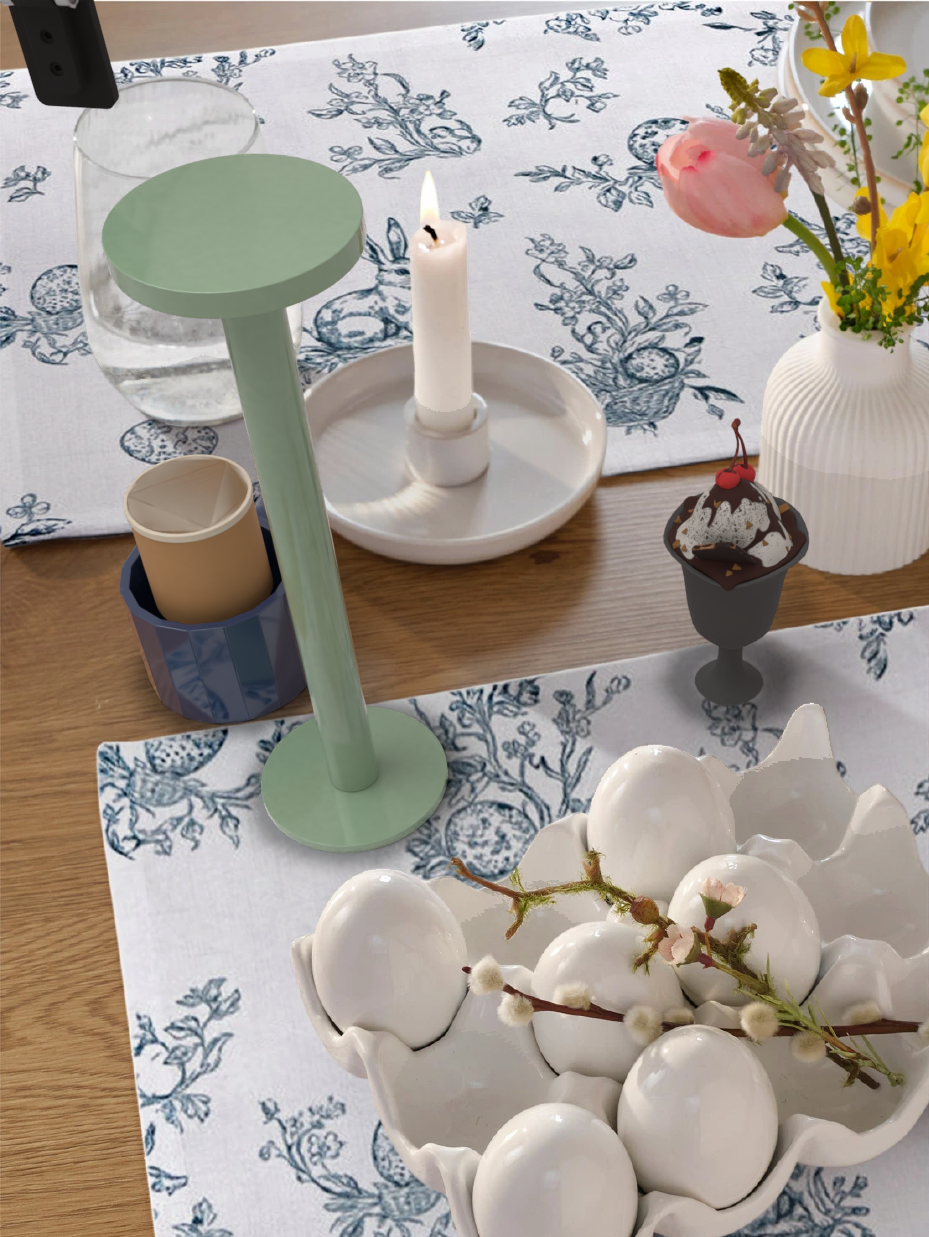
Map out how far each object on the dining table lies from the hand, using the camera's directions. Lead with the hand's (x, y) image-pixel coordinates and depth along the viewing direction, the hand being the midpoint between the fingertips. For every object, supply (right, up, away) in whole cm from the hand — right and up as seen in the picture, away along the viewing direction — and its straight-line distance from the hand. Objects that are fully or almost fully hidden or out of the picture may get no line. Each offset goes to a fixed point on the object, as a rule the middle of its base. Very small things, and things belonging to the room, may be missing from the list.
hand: (126, 44), depth 65 cm
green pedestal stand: (+7, -30, +14) cm, 34 cm away
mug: (+1, -22, +20) cm, 30 cm away
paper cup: (0, -23, +18) cm, 30 cm away
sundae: (+26, -25, +17) cm, 40 cm away
